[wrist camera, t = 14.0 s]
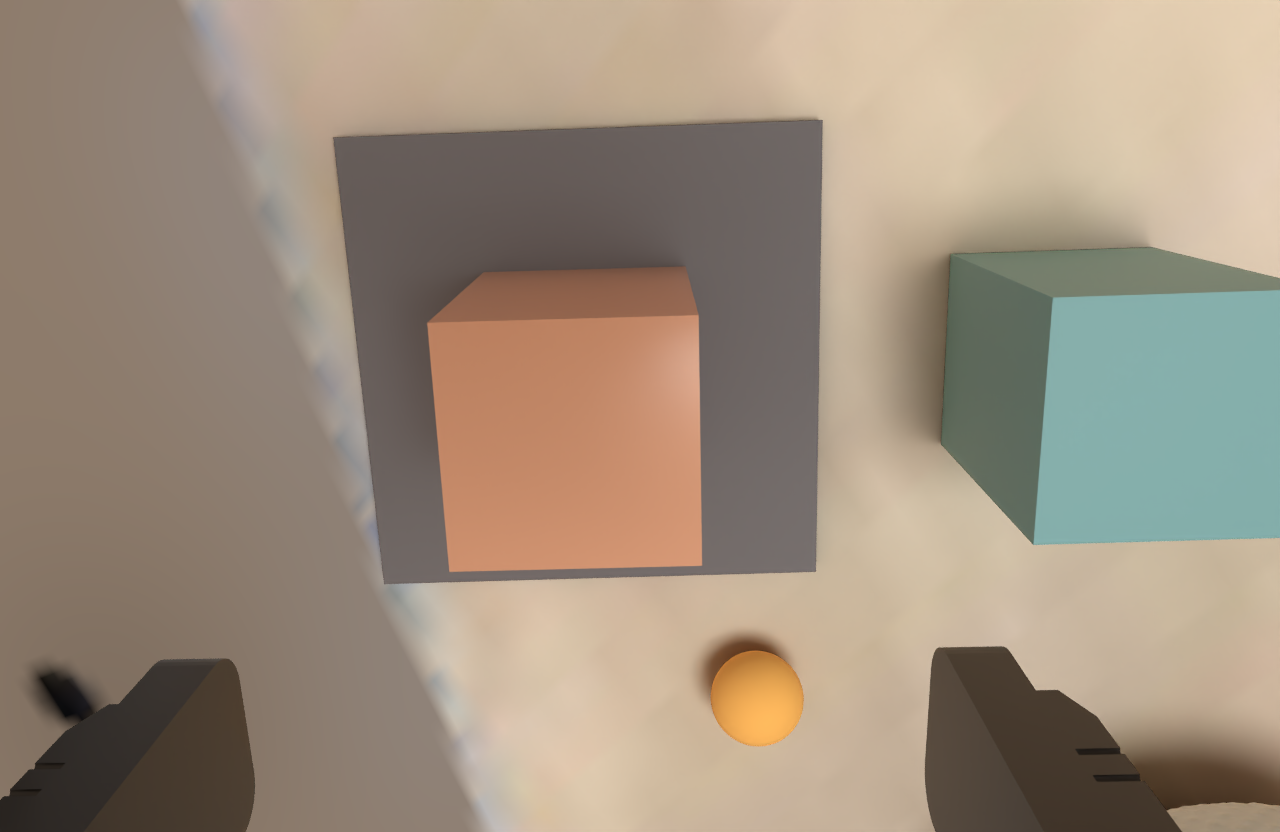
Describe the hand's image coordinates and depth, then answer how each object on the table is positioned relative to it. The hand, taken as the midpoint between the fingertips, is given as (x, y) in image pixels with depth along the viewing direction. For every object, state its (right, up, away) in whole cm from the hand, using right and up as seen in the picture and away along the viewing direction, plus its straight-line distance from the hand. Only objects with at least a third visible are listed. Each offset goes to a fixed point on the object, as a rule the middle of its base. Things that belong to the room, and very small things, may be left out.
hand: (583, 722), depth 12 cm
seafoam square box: (+13, +6, +20) cm, 24 cm away
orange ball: (+4, -5, +23) cm, 24 cm away
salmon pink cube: (-1, +5, +19) cm, 20 cm away
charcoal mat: (-1, +5, +20) cm, 20 cm away
